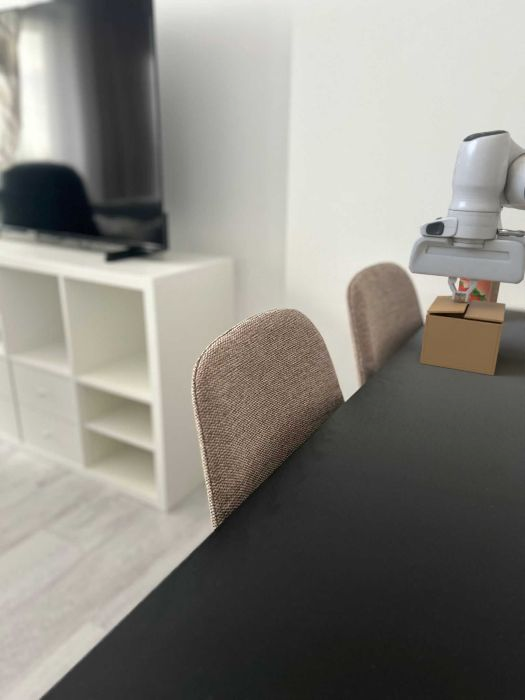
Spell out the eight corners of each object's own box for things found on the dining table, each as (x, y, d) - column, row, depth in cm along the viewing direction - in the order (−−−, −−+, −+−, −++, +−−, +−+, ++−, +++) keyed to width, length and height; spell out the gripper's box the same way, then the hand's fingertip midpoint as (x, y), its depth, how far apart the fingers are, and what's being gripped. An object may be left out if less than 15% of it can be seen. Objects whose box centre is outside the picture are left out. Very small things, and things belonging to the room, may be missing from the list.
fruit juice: (501, 321, 127) (523, 204, 118) (467, 322, 125) (486, 203, 116) (479, 311, 136) (498, 201, 126) (447, 312, 134) (463, 201, 125)
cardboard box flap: (463, 312, 91) (463, 310, 91) (427, 312, 94) (426, 310, 94) (470, 297, 103) (470, 295, 103) (437, 297, 106) (437, 295, 106)
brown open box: (493, 375, 92) (503, 320, 89) (419, 363, 97) (426, 310, 94) (497, 353, 104) (506, 303, 101) (430, 343, 109) (437, 295, 106)
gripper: (534, 229, 92) (519, 304, 96) (417, 222, 100) (409, 291, 104) (535, 232, 86) (519, 312, 91) (411, 224, 94) (403, 298, 99)
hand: (459, 301), depth 98 cm, fingers closed
